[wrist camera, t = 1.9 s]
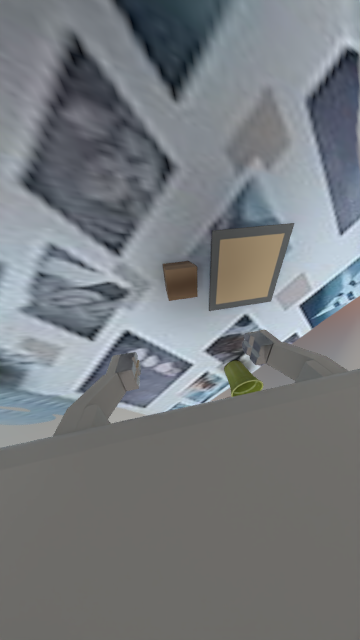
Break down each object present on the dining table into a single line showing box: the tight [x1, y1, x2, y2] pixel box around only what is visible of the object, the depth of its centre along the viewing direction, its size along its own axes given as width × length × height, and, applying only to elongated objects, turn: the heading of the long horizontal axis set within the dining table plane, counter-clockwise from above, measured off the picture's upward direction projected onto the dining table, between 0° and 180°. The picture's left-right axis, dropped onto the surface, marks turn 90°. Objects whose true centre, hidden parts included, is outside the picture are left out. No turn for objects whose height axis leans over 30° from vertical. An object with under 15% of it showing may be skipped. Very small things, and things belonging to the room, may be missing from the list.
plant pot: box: [224, 361, 263, 397], centre depth 42 cm, size 9×9×9 cm
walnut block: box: [163, 261, 197, 301], centre depth 25 cm, size 5×5×6 cm
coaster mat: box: [209, 223, 294, 311], centre depth 29 cm, size 16×16×1 cm
